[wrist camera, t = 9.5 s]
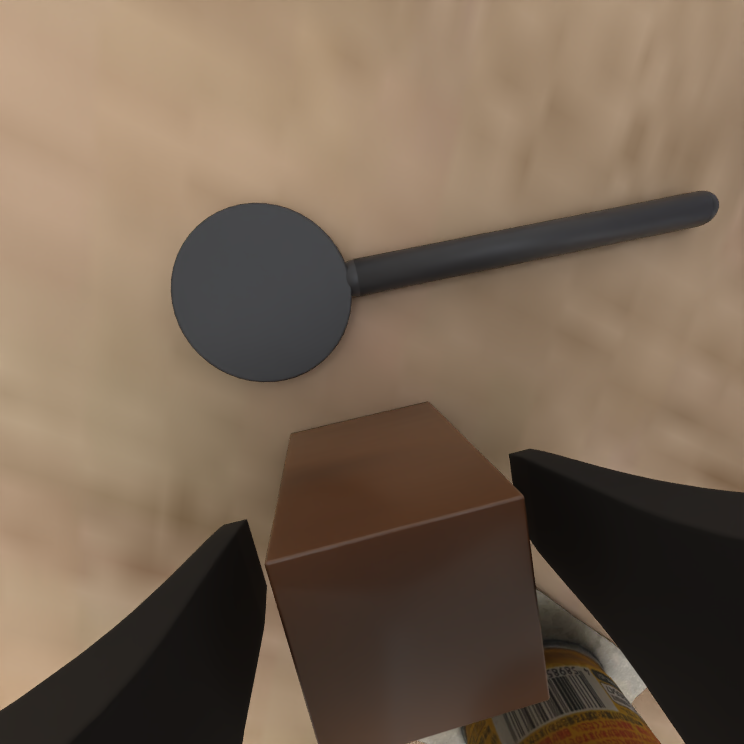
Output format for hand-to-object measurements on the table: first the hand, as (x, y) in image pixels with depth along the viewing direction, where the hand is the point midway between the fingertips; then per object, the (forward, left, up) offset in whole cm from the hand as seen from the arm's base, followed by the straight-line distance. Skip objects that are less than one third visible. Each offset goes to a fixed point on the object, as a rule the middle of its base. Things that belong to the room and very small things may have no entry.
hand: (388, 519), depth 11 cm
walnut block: (0, 0, -2) cm, 2 cm away
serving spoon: (-4, -6, -2) cm, 8 cm away
